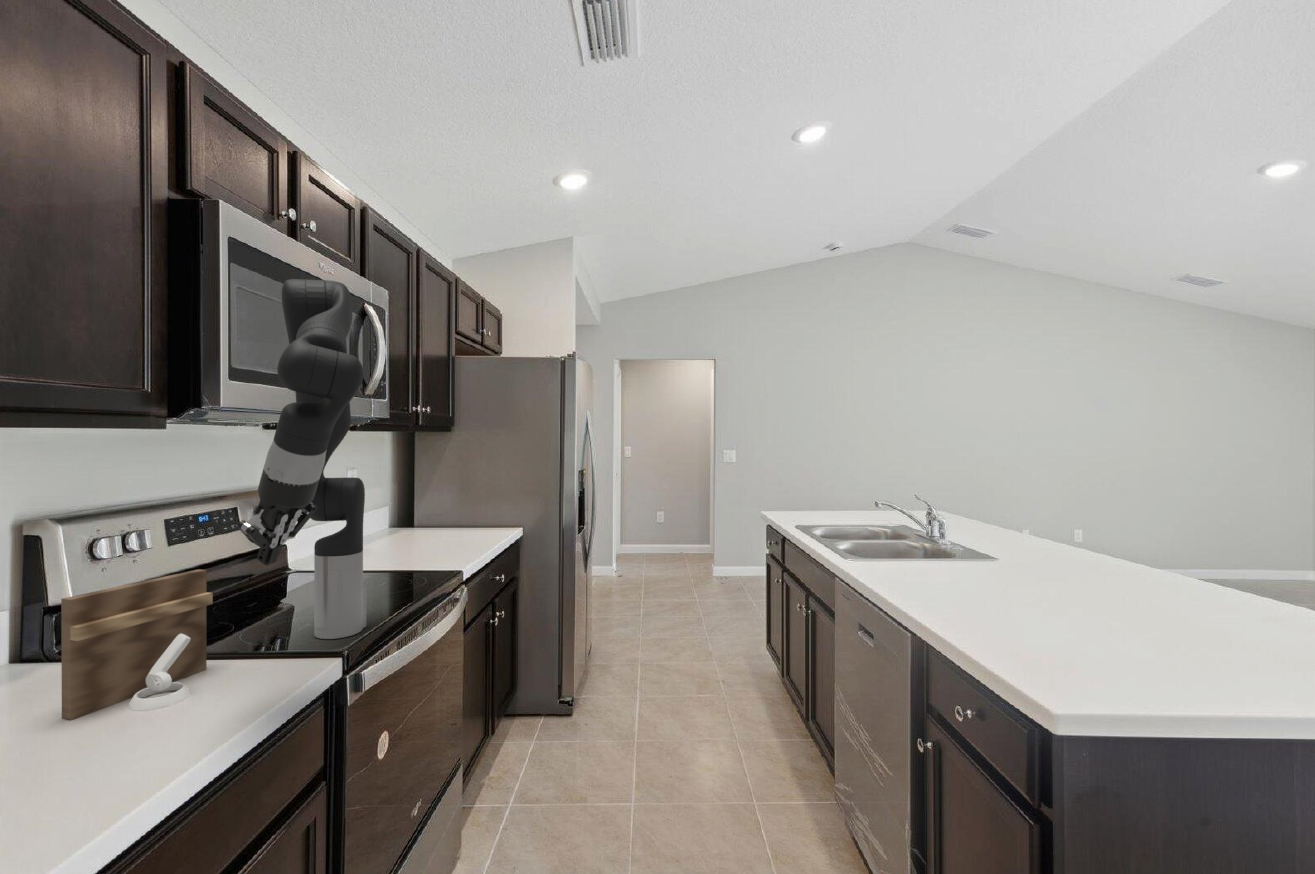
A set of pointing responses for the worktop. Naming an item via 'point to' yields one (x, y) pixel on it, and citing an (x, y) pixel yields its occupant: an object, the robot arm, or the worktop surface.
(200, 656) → the wall board
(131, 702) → the white lever switch
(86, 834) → the worktop surface
